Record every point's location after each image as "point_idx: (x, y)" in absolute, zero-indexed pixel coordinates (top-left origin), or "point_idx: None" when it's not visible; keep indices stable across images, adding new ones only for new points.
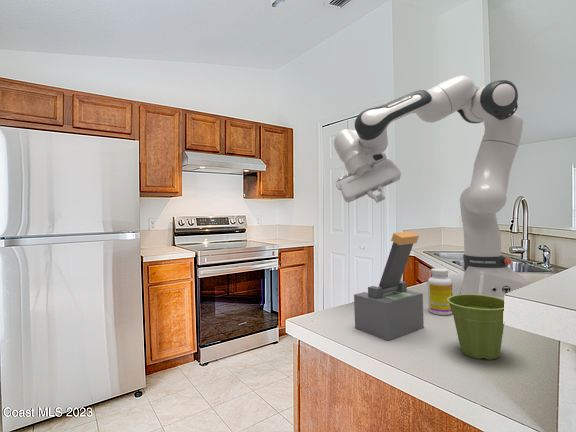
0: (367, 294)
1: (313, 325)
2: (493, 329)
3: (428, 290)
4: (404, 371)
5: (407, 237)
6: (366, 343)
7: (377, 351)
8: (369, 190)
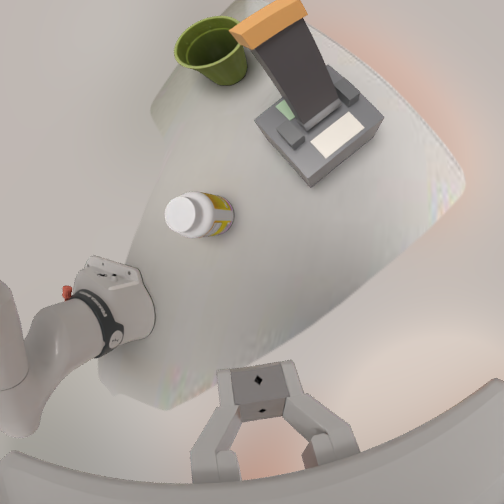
0: (359, 115)
1: (433, 154)
2: (214, 36)
3: (220, 216)
4: (319, 31)
5: (266, 6)
6: (357, 85)
7: (344, 65)
8: (336, 456)
